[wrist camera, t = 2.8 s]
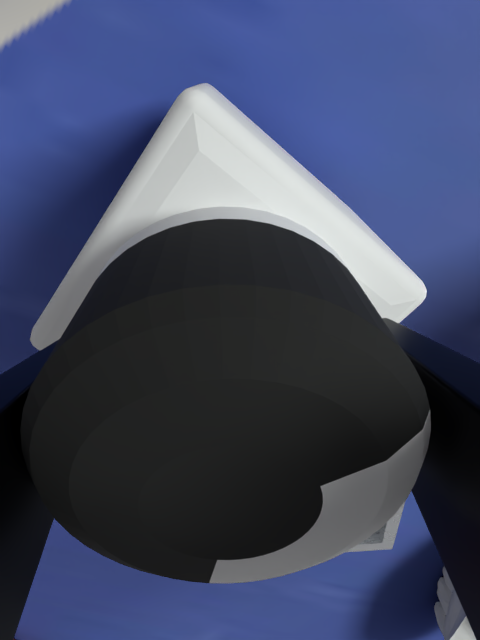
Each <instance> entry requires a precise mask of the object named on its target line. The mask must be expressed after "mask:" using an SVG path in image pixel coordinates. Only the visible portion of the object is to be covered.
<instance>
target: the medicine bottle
mask: <svg viewBox="0 0 480 640" xmlns="http://www.w3.org/2000/svg"><path fill="white" fill-rule="evenodd" d="M426 293H427V290H426V287H425V285H424V283H423V282H422V280H421V279H420V278H419V277H418V276H417V275H416V274H415V273H414V272H413V271H412V270H411V269H410V268H409V267H408V266H407V265H406V264H405V263H404V262H403V261H402V260H401V259H400V258H399V257H398V256H397V255H396V254H395V253H394V252H393V251H392V250H391V249H390V248H389V247H388V246H387V245H386V244H385V243H384V242H383V241H382V240H381V239H380V238H379V237H378V236H377V235H376V234H375V233H374V232H373V231H372V230H371V229H370V228H369V227H368V226H367V225H366V224H365V223H364V222H363V221H362V220H361V219H360V218H359V217H358V216H357V215H356V214H355V213H354V212H353V211H352V210H351V209H350V208H349V207H348V206H347V205H346V204H345V203H344V202H343V201H341V200H340V199H339V198H338V197H337V196H336V195H335V194H334V193H332V192H331V191H330V190H329V189H328V188H327V187H326V186H325V185H323V184H322V183H321V182H320V181H319V180H318V179H317V178H316V177H314V176H313V175H312V174H311V173H310V172H309V171H308V170H306V169H305V168H304V167H303V166H302V165H301V164H300V163H299V162H297V161H296V160H295V159H294V158H293V157H292V156H291V155H290V154H288V153H287V152H286V151H285V150H284V149H283V148H282V147H281V146H279V145H278V144H277V143H276V142H275V141H274V140H273V139H272V138H270V137H269V136H268V135H267V134H266V133H265V132H264V131H263V130H261V129H260V128H259V127H258V126H257V125H256V124H255V123H253V122H252V121H251V120H250V119H249V118H248V117H247V116H246V115H244V114H243V113H242V112H241V111H240V110H239V109H238V108H237V107H235V106H234V105H233V104H232V103H231V102H230V101H229V100H228V99H226V98H225V97H224V96H223V95H222V94H221V93H220V92H219V91H217V90H216V89H215V88H214V87H213V86H212V85H209V84H207V83H203V84H198V85H196V86H193V87H190V88H187V89H185V90H184V91H183V92H182V93H181V94H180V95H179V96H178V97H177V98H176V100H175V102H174V103H173V105H172V106H171V108H170V110H169V111H168V113H167V114H166V116H165V118H164V119H163V121H162V122H161V124H160V126H159V127H158V129H157V130H156V132H155V134H154V135H153V137H152V138H151V140H150V142H149V143H148V145H147V146H146V148H145V150H144V151H143V153H142V154H141V156H140V158H139V159H138V161H137V162H136V164H135V166H134V167H133V169H132V170H131V172H130V174H129V175H128V177H127V178H126V180H125V182H124V183H123V185H122V186H121V188H120V190H119V191H118V193H117V194H116V196H115V198H114V199H113V201H112V202H111V204H110V206H109V207H108V209H107V210H106V212H105V214H104V215H103V217H102V218H101V220H100V222H99V223H98V225H97V226H96V228H95V230H94V231H93V233H92V234H91V236H90V237H89V239H88V241H87V242H86V244H85V245H84V247H83V249H82V250H81V252H80V253H79V255H78V257H77V258H76V260H75V261H74V263H73V265H72V266H71V268H70V269H69V271H68V273H67V274H66V276H65V277H64V279H63V281H62V282H61V284H60V285H59V287H58V289H57V290H56V292H55V293H54V295H53V297H52V298H51V300H50V301H49V303H48V305H47V306H46V308H45V309H44V311H43V313H42V314H41V316H40V317H39V319H38V321H37V322H36V324H35V325H34V327H33V329H32V332H31V337H30V341H31V343H32V345H33V346H34V347H35V348H37V349H38V350H42V349H44V348H45V347H47V346H49V345H50V344H52V343H54V342H55V341H57V340H58V339H59V341H58V343H57V344H56V346H55V348H54V349H53V351H52V352H51V354H50V356H49V357H48V359H47V361H46V362H45V364H44V366H43V367H42V369H41V370H40V372H39V374H38V375H37V377H36V379H35V380H34V382H33V384H32V385H31V387H30V390H29V393H28V396H27V399H26V401H25V404H24V407H23V413H22V420H21V427H20V433H21V446H22V453H23V456H24V459H25V463H26V466H27V470H28V472H29V474H30V476H31V479H32V481H33V483H34V485H35V487H36V489H37V491H38V493H39V495H40V497H41V499H42V501H43V503H44V505H45V506H46V507H47V509H48V510H49V511H50V513H51V514H52V516H53V517H54V518H55V520H56V521H57V522H58V523H59V524H60V525H61V526H63V527H64V528H65V529H66V530H67V531H68V532H69V533H70V534H71V535H72V536H74V537H75V538H76V539H78V540H79V541H80V542H82V543H83V544H84V545H86V546H87V547H89V548H91V549H92V550H94V551H96V552H98V553H99V554H101V555H103V556H105V557H107V558H109V559H111V560H114V561H116V562H118V563H120V564H123V565H126V566H128V567H131V568H134V569H137V570H140V571H143V572H147V573H151V574H155V575H159V576H164V577H168V578H173V579H179V580H185V581H191V582H202V583H241V582H251V581H258V580H265V579H270V578H274V577H279V576H283V575H287V574H290V573H293V572H297V571H300V570H303V569H306V568H309V567H312V566H315V565H317V564H320V563H323V562H325V561H328V560H330V559H332V558H334V557H336V556H338V555H340V554H342V553H344V552H346V551H348V550H350V549H352V548H353V547H355V546H357V545H358V544H360V543H361V542H363V541H365V540H366V539H367V538H369V537H370V536H371V535H373V534H374V533H375V532H376V531H378V530H379V529H380V528H381V527H382V526H383V525H384V524H385V523H386V522H388V521H389V520H390V519H391V518H392V517H393V516H394V515H395V513H396V512H397V511H398V509H399V508H400V507H401V506H402V504H403V503H404V502H405V501H406V499H407V497H408V495H409V494H410V492H411V490H412V488H413V486H414V485H415V482H416V480H417V477H418V475H419V472H420V469H421V467H422V464H423V461H424V458H425V456H426V453H427V450H428V445H429V439H430V433H431V416H430V406H429V402H428V398H427V394H426V390H425V387H424V385H423V383H422V381H421V379H420V377H419V375H418V373H417V371H416V369H415V367H414V365H413V364H412V362H411V361H410V359H409V358H408V356H407V355H406V353H405V352H404V350H403V349H402V347H401V346H400V344H399V343H398V341H397V340H396V338H395V337H394V335H393V334H392V332H391V331H390V330H389V328H388V327H387V325H386V324H385V322H384V321H383V319H382V318H388V319H391V320H393V321H395V322H397V323H400V322H401V321H402V320H403V319H404V318H405V317H407V316H408V315H409V314H410V313H411V312H412V311H413V310H414V309H416V308H417V307H418V306H419V305H420V304H421V303H422V302H423V301H424V299H425V298H426Z"/></svg>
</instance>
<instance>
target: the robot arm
mask: <svg viewBox="0 0 480 640" xmlns="http://www.w3.org/2000/svg"><path fill="white" fill-rule="evenodd" d="M382 319H383V321H384V322H385V324H386V325H387V327H388V328H389V330H390V331H391V332H392V334H393V335H394V337H395V338H396V340H397V341H398V343H399V344H400V346H401V347H402V349H403V350H404V352H405V353H406V355H407V356H408V358H409V359H410V361H411V362H412V364H413V365H414V367H415V369H416V371H417V373H418V375H419V377H420V379H421V381H422V383H423V385H424V387H425V390H426V394H427V398H428V402H429V406H430V416H431V433H430V439H429V445H428V450H427V453H426V456H425V458H424V461H423V464H422V467H421V469H420V472H419V475H418V477H417V480H416V482H415V485H414V486H413V488H412V493H413V495H414V497H415V500H416V502H417V504H418V507H419V509H420V511H421V513H422V516H423V518H424V520H425V523H426V525H427V527H428V530H429V532H430V534H431V536H432V539H433V541H434V543H435V546H436V548H437V550H438V553H439V555H440V557H441V559H442V562H443V564H444V566H445V569H446V571H447V573H448V576H449V578H450V580H451V582H452V585H453V587H454V589H455V592H456V594H457V596H458V599H459V601H460V603H461V605H462V608H463V610H464V612H465V615H466V617H467V619H468V622H469V624H470V626H471V628H472V631H473V633H474V635H475V638H476V640H480V363H478V362H476V361H474V360H472V359H470V358H468V357H466V356H463V355H461V354H459V353H457V352H455V351H453V350H451V349H449V348H447V347H445V346H443V345H441V344H439V343H437V342H435V341H433V340H431V339H429V338H427V337H425V336H423V335H421V334H419V333H417V332H415V331H413V330H411V329H409V328H407V327H405V326H403V325H401V324H399V323H397V322H395V321H393V320H391V319H388V318H382ZM58 341H59V339H58V340H57V341H55V342H54V343H52V344H50V345H49V346H47V347H45V348H44V349H42V350H40V351H39V352H37V353H35V354H34V355H32V356H30V357H29V358H27V359H26V360H24V361H22V362H21V363H19V364H17V365H16V366H14V367H12V368H11V369H9V370H7V371H6V372H4V373H2V374H1V375H0V640H13V639H14V636H15V633H16V630H17V627H18V624H19V621H20V618H21V615H22V612H23V609H24V606H25V603H26V600H27V597H28V594H29V591H30V588H31V585H32V582H33V579H34V576H35V573H36V570H37V567H38V564H39V561H40V558H41V555H42V552H43V549H44V546H45V543H46V540H47V537H48V534H49V531H50V528H51V525H52V522H53V519H54V517H53V516H52V514H51V513H50V511H49V510H48V509H47V507H46V506H45V505H44V503H43V501H42V499H41V497H40V495H39V493H38V491H37V489H36V487H35V485H34V483H33V481H32V479H31V476H30V474H29V472H28V470H27V466H26V463H25V459H24V456H23V453H22V446H21V433H20V427H21V420H22V413H23V407H24V404H25V401H26V399H27V396H28V393H29V390H30V387H31V385H32V384H33V382H34V380H35V379H36V377H37V375H38V374H39V372H40V370H41V369H42V367H43V366H44V364H45V362H46V361H47V359H48V357H49V356H50V354H51V352H52V351H53V349H54V348H55V346H56V344H57V343H58Z"/></svg>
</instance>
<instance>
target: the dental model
mask: <svg viewBox="0 0 480 640" xmlns="http://www.w3.org/2000/svg"><path fill="white" fill-rule="evenodd" d="M443 575H444V577H441V578H440V579H439V581H438V583H437V585H438V590H437V595H438V598H439V600H440V602H436V603H435V606H434V611H435V615H436V619H437V623H438V626H439V628H440V630H441V632H442V634H443V636H444V639H445V640H476V638H475V635H474V633H473V631H472V628H471V626H470V624H469V622H468V619H467V617H466V615H465V612H464V610H463V608H462V605H461V603H460V601H459V599H458V596H457V594H456V592H455V589H454V587H453V585H452V582H451V580H450V578H449V576H448V573H447V571H446V569H445V566H444V567H443Z"/></svg>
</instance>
